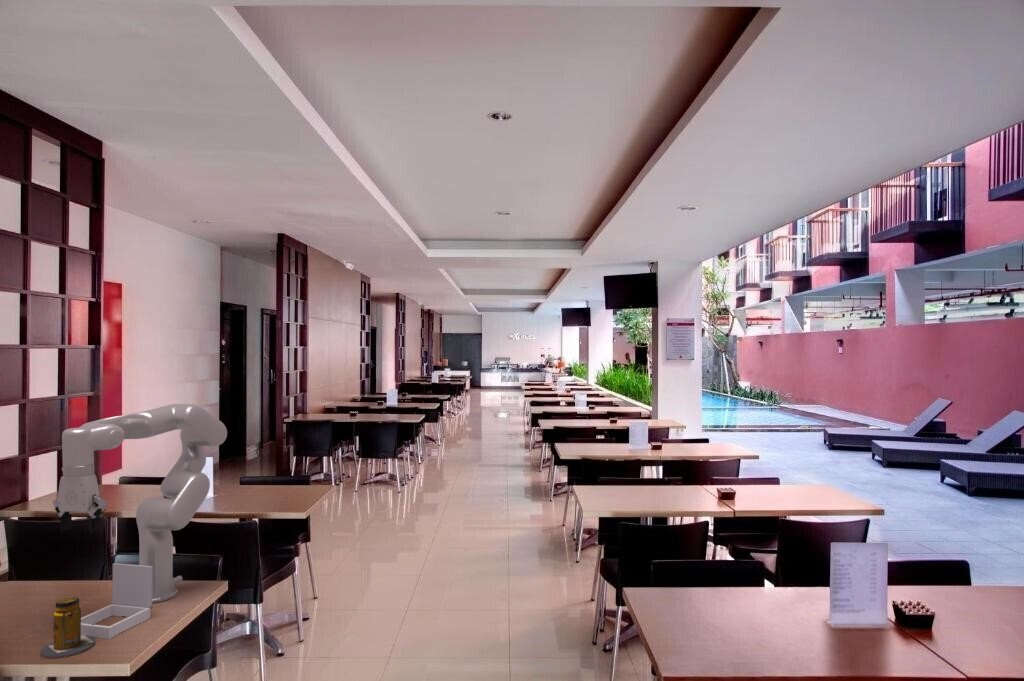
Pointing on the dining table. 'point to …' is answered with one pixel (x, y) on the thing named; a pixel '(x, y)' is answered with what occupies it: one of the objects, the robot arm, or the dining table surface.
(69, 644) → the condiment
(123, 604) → the case
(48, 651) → the mat
